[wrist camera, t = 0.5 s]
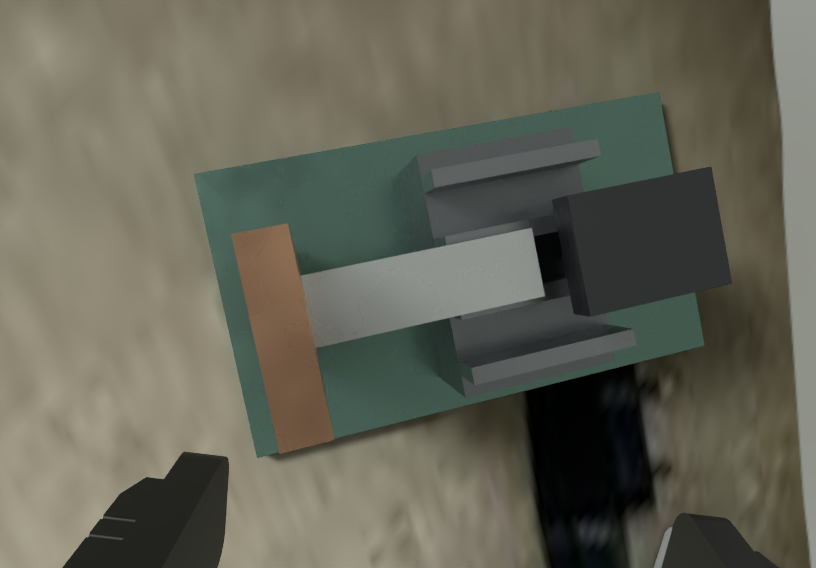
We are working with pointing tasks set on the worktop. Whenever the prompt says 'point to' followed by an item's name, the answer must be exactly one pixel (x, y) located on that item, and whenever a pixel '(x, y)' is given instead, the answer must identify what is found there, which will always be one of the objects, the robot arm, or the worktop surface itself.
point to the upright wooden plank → (361, 309)
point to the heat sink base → (478, 218)
